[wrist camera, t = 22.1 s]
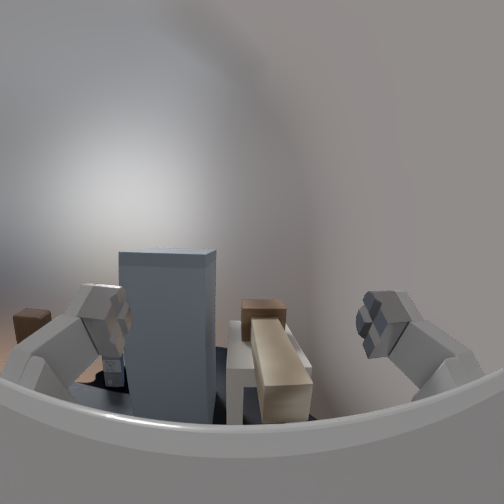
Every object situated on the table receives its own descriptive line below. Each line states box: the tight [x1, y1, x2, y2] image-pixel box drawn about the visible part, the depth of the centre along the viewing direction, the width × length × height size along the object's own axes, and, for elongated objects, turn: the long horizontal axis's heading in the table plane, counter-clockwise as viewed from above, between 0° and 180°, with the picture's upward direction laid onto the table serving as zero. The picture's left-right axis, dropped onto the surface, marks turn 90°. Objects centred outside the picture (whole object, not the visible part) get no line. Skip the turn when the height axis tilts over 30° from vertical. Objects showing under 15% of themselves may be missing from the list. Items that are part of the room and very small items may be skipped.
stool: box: [226, 321, 312, 425], centre depth 33 cm, size 8×16×16 cm, turn 3°
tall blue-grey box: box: [119, 248, 216, 424], centre depth 38 cm, size 10×16×26 cm, turn 3°
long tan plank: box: [241, 299, 313, 423], centre depth 26 cm, size 5×21×4 cm, turn 3°
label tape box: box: [102, 352, 124, 387], centre depth 47 cm, size 9×4×12 cm, turn 24°
